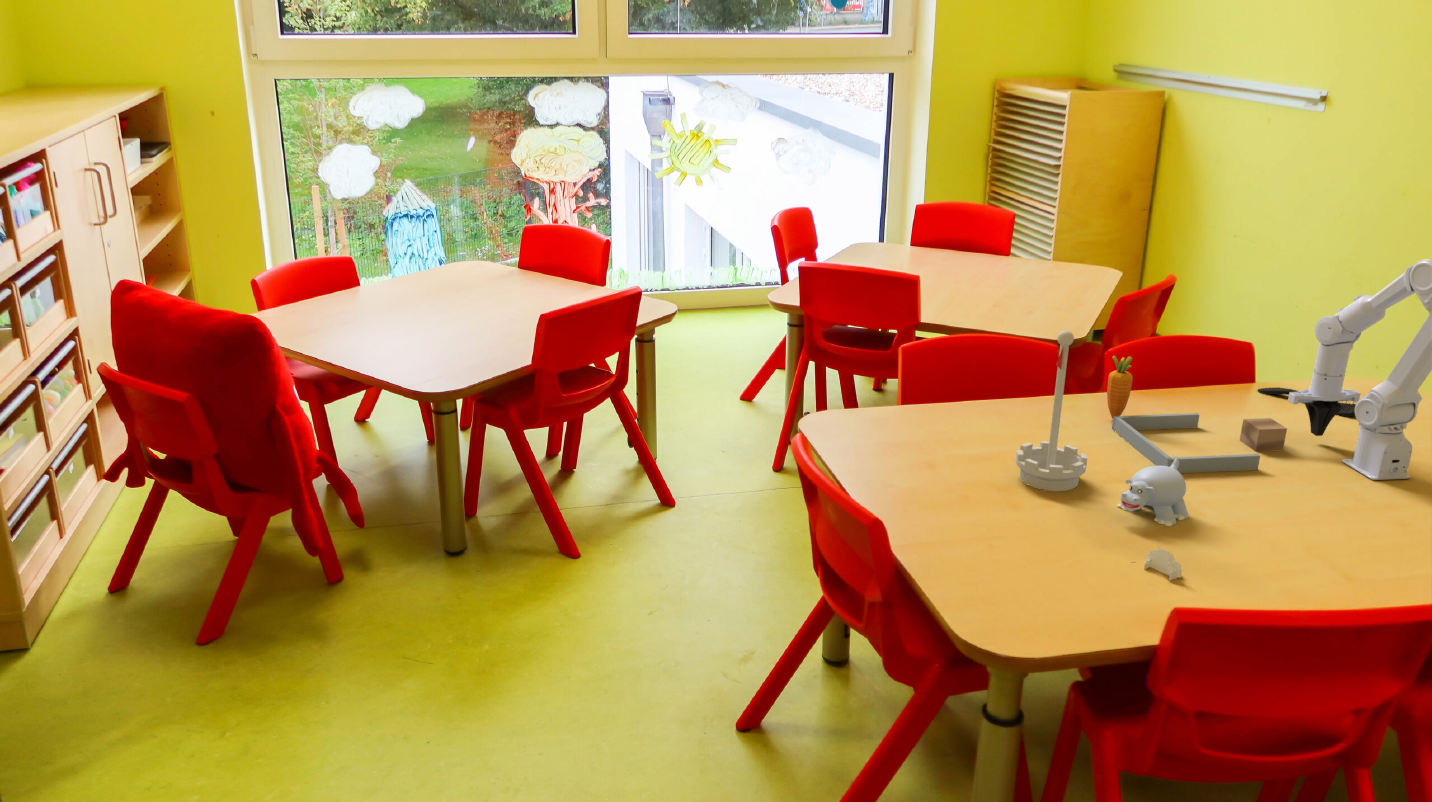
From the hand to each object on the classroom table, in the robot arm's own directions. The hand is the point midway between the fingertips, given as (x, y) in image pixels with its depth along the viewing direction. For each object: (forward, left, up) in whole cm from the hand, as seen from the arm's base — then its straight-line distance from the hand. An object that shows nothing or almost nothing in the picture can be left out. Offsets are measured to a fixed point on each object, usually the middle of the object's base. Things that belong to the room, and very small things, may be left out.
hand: (1316, 434), depth 231 cm
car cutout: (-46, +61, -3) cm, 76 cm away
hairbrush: (+22, -15, -3) cm, 27 cm away
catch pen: (0, +29, -2) cm, 29 cm away
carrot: (+17, +36, -2) cm, 40 cm away
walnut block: (0, +12, -2) cm, 12 cm away
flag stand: (-12, +63, -2) cm, 64 cm away
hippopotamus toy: (-29, +51, -2) cm, 59 cm away
